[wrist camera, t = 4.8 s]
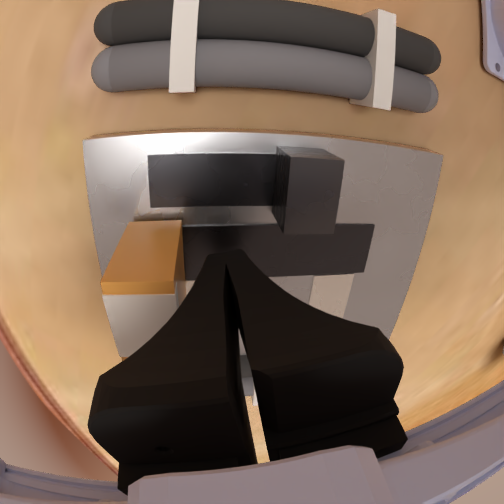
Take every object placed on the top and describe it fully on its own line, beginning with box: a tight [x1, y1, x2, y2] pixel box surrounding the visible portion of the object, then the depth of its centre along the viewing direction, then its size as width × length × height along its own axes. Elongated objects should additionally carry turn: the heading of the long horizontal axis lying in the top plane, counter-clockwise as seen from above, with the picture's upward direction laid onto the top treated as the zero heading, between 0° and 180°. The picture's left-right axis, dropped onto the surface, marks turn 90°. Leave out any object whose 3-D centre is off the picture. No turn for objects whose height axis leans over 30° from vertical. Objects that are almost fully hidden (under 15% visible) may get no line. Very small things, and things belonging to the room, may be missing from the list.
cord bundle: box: [91, 0, 441, 113], centre depth 9 cm, size 14×4×2 cm, turn 87°
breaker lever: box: [100, 220, 186, 361], centre depth 10 cm, size 2×3×4 cm, turn 177°
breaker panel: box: [83, 129, 443, 355], centre depth 13 cm, size 15×11×3 cm
